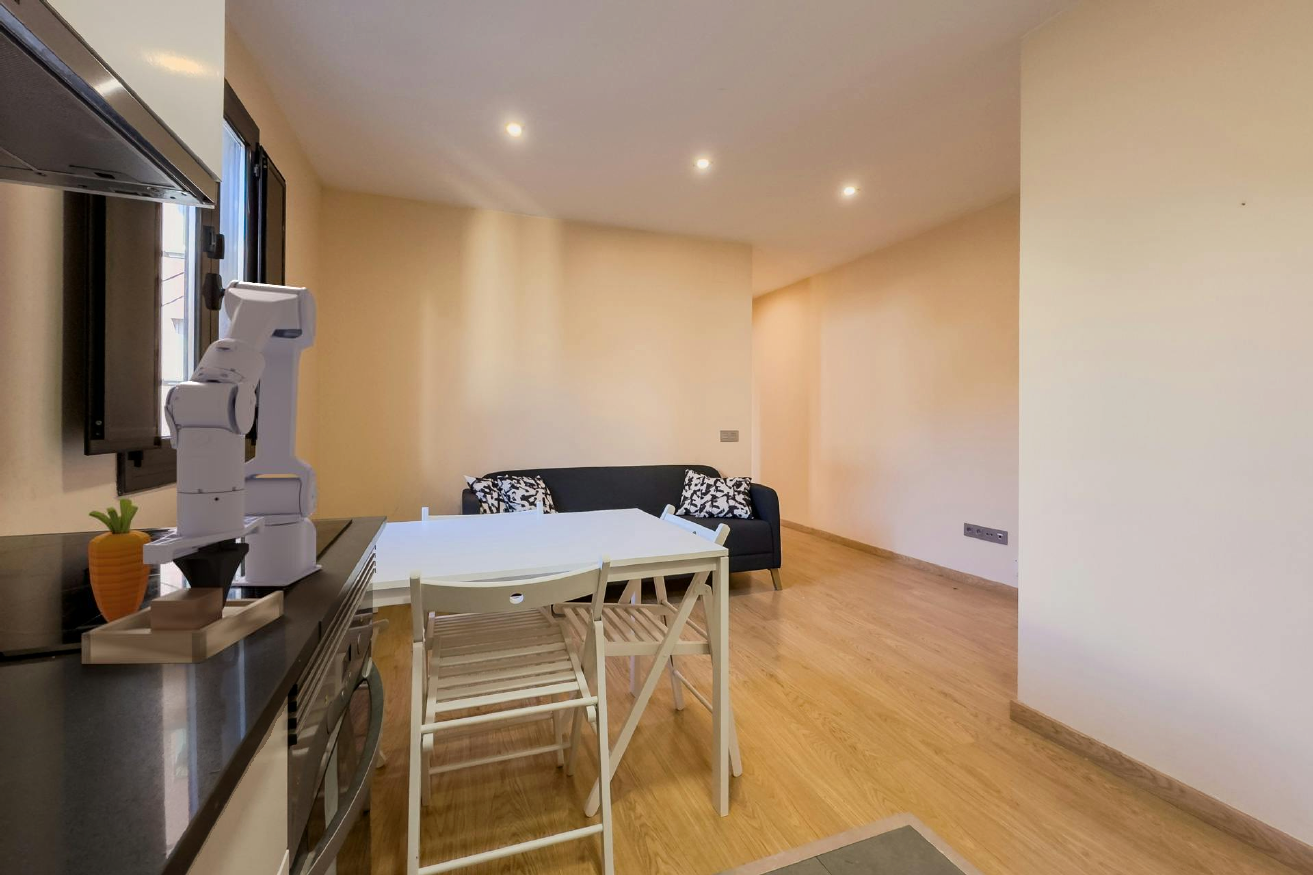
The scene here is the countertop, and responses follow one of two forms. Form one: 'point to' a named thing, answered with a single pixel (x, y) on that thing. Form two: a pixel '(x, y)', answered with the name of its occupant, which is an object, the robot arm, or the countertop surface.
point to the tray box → (177, 635)
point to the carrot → (118, 564)
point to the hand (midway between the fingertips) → (211, 610)
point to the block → (187, 609)
